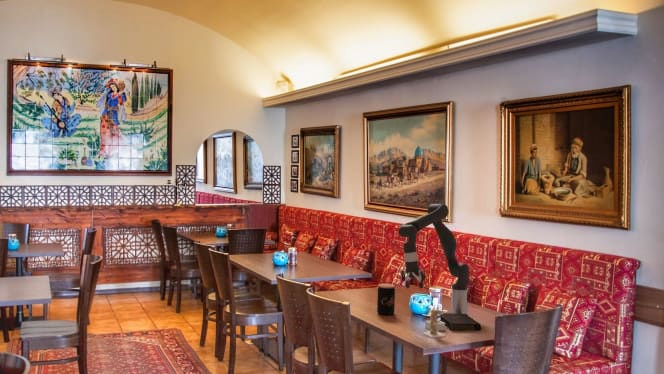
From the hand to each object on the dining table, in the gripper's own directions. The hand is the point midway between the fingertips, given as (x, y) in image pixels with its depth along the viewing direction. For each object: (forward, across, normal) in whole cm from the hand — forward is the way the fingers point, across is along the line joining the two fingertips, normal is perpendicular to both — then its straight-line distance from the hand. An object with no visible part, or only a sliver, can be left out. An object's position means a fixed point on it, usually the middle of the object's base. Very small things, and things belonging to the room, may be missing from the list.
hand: (414, 288), depth 390 cm
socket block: (+25, -6, -7) cm, 27 cm away
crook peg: (+24, -14, +6) cm, 28 cm away
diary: (+28, -12, -23) cm, 38 cm away
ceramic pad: (+24, -12, +6) cm, 28 cm away
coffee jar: (+22, +35, -20) cm, 45 cm away
